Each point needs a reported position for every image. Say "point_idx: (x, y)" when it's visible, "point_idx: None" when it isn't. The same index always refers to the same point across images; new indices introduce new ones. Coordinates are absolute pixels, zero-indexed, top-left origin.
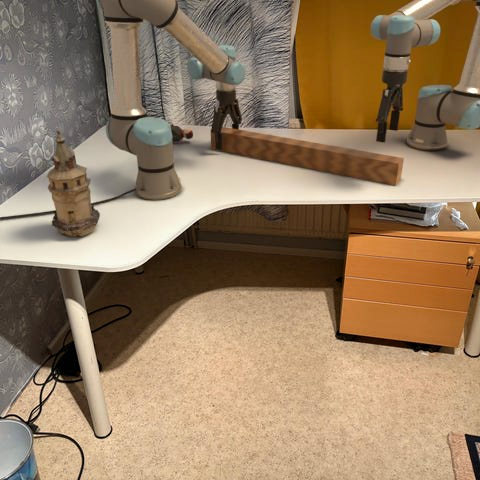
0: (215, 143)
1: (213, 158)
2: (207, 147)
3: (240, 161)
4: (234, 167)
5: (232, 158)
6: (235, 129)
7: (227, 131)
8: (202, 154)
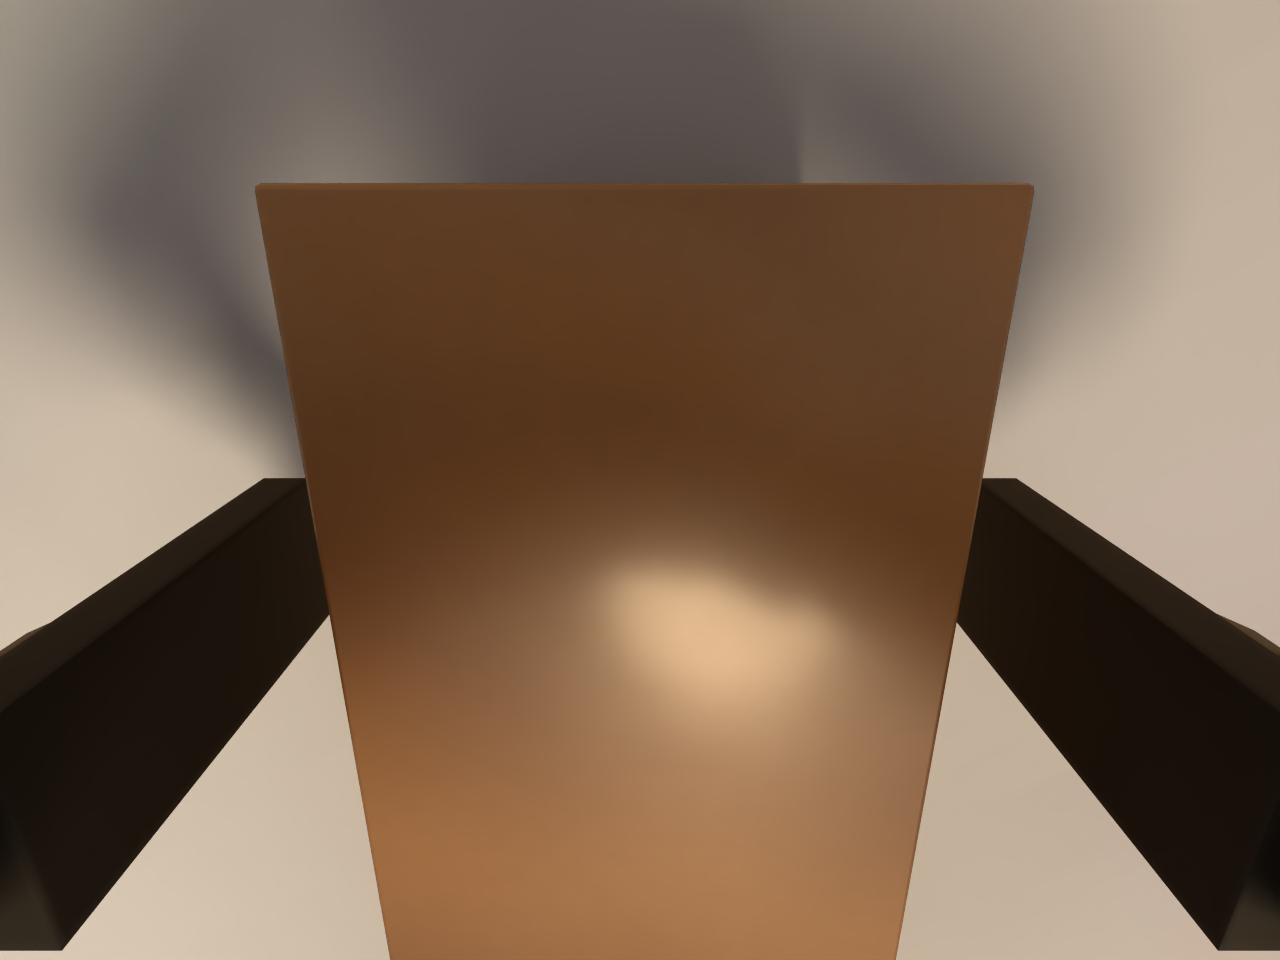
0: (182, 539)
1: (121, 525)
2: (533, 40)
3: (310, 895)
4: (85, 927)
5: (332, 765)
6: (847, 956)
7: (529, 862)
8: (121, 214)
